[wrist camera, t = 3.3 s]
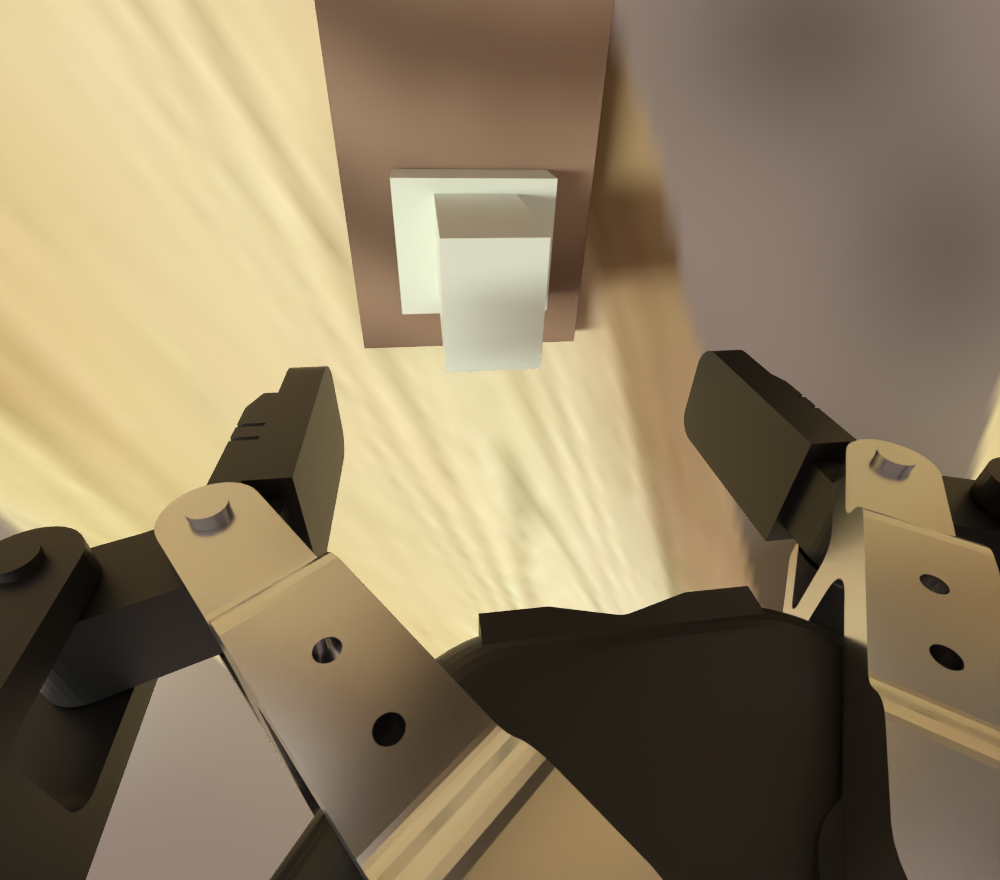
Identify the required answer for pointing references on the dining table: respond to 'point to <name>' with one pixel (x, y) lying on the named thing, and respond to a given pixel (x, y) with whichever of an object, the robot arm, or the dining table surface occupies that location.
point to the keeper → (477, 260)
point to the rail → (461, 125)
